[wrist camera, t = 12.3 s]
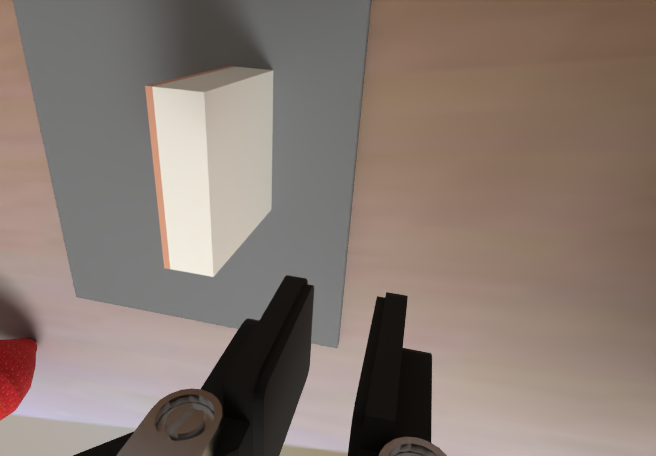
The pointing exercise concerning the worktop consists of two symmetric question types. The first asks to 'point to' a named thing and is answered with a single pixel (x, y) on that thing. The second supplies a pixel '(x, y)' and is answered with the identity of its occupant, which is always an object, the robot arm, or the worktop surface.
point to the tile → (211, 163)
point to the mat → (136, 153)
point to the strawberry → (15, 372)
